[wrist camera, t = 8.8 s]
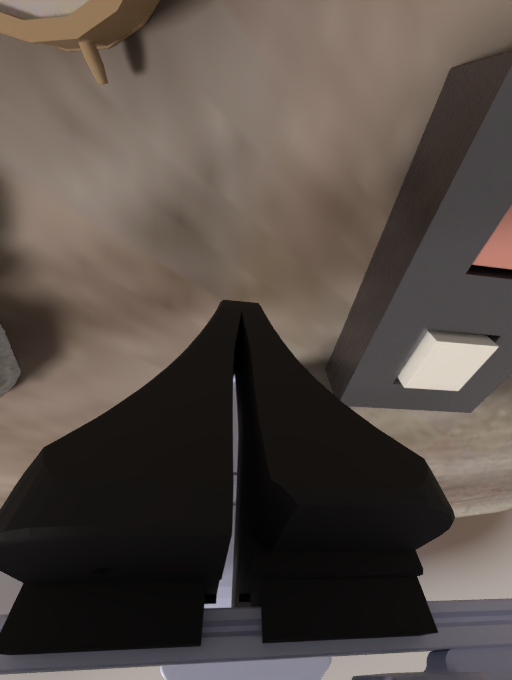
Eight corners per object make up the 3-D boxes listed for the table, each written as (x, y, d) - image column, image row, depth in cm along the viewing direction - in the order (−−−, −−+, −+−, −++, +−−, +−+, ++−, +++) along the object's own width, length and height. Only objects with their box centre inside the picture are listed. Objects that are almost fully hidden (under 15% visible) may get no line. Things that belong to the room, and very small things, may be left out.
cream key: (436, 363, 22) (458, 391, 20) (386, 359, 22) (404, 387, 20) (468, 320, 20) (499, 346, 17) (413, 314, 19) (437, 341, 17)
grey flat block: (443, 378, 26) (470, 412, 23) (325, 370, 25) (337, 405, 22) (662, 112, 14) (784, 108, 11) (450, 68, 12) (520, 48, 9)
